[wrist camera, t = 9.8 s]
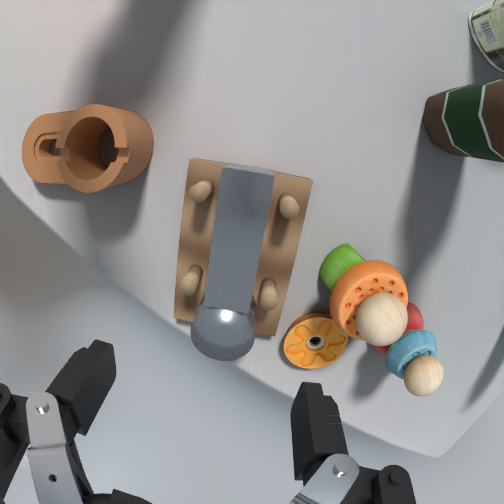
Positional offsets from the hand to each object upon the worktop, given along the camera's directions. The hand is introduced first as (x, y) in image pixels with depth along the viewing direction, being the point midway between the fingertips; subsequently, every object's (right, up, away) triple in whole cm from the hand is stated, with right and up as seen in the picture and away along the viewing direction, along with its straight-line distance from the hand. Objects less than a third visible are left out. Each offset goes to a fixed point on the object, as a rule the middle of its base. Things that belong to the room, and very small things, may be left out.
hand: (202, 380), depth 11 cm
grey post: (0, +5, +19) cm, 20 cm away
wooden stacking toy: (+15, -3, +24) cm, 29 cm away
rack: (0, +5, +21) cm, 22 cm away
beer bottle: (+25, +20, +15) cm, 35 cm away
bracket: (-17, +18, +18) cm, 31 cm away
